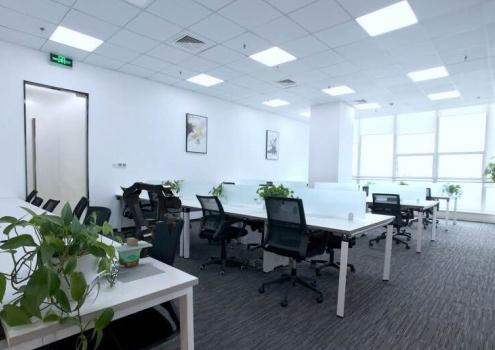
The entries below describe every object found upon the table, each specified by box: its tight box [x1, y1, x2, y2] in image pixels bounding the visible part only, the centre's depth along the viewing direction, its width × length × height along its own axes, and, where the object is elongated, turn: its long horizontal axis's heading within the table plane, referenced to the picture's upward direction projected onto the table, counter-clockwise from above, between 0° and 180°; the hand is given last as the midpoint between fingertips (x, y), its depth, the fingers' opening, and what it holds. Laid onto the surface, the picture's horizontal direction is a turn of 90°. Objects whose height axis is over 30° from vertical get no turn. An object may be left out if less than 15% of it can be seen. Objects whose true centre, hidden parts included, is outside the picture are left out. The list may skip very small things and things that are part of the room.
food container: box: [116, 248, 142, 269], centre depth 138 cm, size 12×6×10 cm, turn 143°
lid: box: [114, 237, 153, 252], centre depth 138 cm, size 10×16×4 cm, turn 137°
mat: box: [115, 265, 166, 284], centre depth 129 cm, size 13×20×1 cm, turn 137°
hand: (162, 237), depth 148 cm, fingers open, 9 cm apart
